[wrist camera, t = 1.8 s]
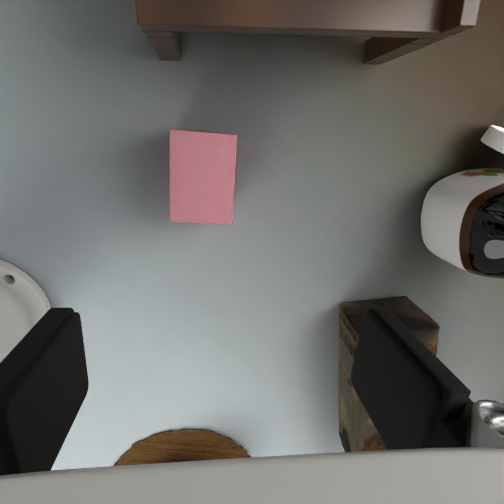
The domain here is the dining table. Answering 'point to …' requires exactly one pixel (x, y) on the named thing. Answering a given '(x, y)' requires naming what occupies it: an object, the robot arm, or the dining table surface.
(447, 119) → the dining table surface
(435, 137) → the dining table surface
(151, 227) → the dining table surface
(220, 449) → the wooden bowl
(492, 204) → the spread jar
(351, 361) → the beverage carton
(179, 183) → the pink box
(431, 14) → the rack
